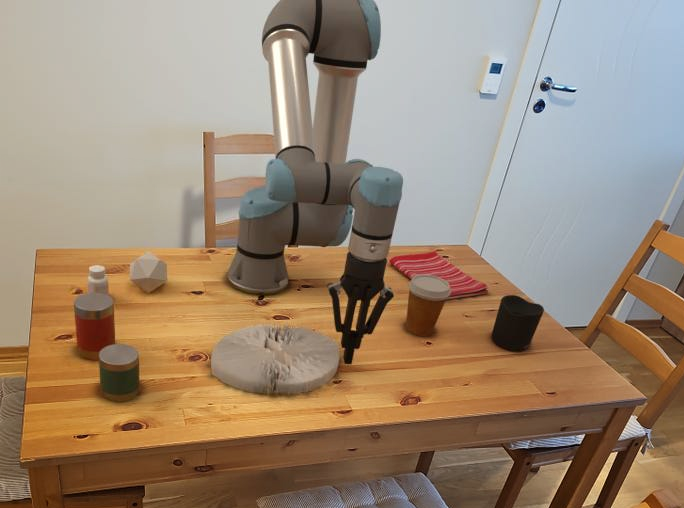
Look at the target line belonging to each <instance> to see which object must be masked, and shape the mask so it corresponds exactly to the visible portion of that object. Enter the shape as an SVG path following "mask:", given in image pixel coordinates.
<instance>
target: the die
mask: <svg viewBox="0 0 684 508" xmlns="http://www.w3.org/2000/svg"><path fill="white" fill-rule="evenodd" d="M129 264H130V265H129V281H131V282H132V283H133V284H134V285H136V286H137V287H139V288H141V289H142V290H143V291H145V292H146V293H147V294H150V293H152V292H153V291H154V290H156V289H157V288H159V287H160V286H162V285H164V284H165V283H166V282H167V281H168V263H166V262H165V261H163V260H162V259H160V258H159V257H158V256H156V255H155V254H153V253H152V252H151V251H149V250H148V251H147V252H145V253H143V254H142V255H140V256H139V257H137V258H136V259H134V260H133V261H131V262H130V263H129Z"/></svg>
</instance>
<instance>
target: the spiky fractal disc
mask: <svg viewBox="0 0 684 508" xmlns="http://www.w3.org/2000/svg"><path fill="white" fill-rule="evenodd" d="M276 339H277V340H276ZM340 355H341V347H340V346H339V343H338V341H337V340H336V339H334V338H332V337H330V336H328V335H327V334H325V333H322V332H319V331H316V330H314V329H309V328H306V327H303V326H297V325H296V326H295V325H289V324H282V325H280V324H276V325H274V324H267V323H265V324H264V323H261V324H255V325H248V326H242V327H241V328H239V329H236V330H235V331H232V332H229V333H227V334H226V335H224V337H222V338H220V339H219V341H216V344H215V345H214V347H213V349H212V352H211V356H210V371H211V375H212V377H214V378H216V379H217V380H218V381H220V382H221V383H222V384H225V385H227V386H231V387H233V388H235V389H238V390H243V392H247V393H256V394H263V395H269V396H270V395H271V393H274V392H275V393H274V394H275V395H276V396H278V394H282V395H285V396H286V395H288V396H290V395H299V394H300V395H301V393H303V394H305V393H308V392H311V391H314V390H315V389H317V388H320V387H322V386H324V385H325V384H327V383H328V382H329V381H331V379H332V378H334V376H335V375H336V373H337V372H338V368H339V363H340V357H341V356H340ZM277 374H278V379H277Z"/></svg>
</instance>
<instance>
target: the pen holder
mask: <svg viewBox="0 0 684 508" xmlns="http://www.w3.org/2000/svg"><path fill="white" fill-rule="evenodd" d="M544 311H545V308H544V307H543V305H542V304H540V303H534V302H530V301H529V300H526V299H524V298H523V297H521V296H519V295H515V294H509V295H504V296H503V297H501V299H500V303H499V307H498V310H497V313H496V317H495V321H494V324H493V329H492V332H491V336H490V338H491V341H492V342H493V343H494V344H495V345H496V346H497V347H499V348H500V349H503V350H506V351H509V352H514V353H515V352H517V353H518V352H524V351H526V350H528V349H529V347H530V345H531V342H532V340H533V339H534V336H535V334H536V331H537V328H538V326H539V324H540V321H541V320H542V317H543V315H544Z"/></svg>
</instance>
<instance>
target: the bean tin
mask: <svg viewBox="0 0 684 508" xmlns="http://www.w3.org/2000/svg"><path fill="white" fill-rule="evenodd" d="M98 368H99V384H100V385H99V387H100V393H101V395H102V397H103V398H105V400H109V401H112V402H126V401H127V402H128V401H130V400H132V399H134V398H136V397H137V396H138V395H139V393H140V354H139V351H138V349H137V348H136V347H134V346H133V345H130V344H126V343H115V344H113V345H109V346H106V347H105V348H103V349H102V350H101V351H100V353H99V360H98Z"/></svg>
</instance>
